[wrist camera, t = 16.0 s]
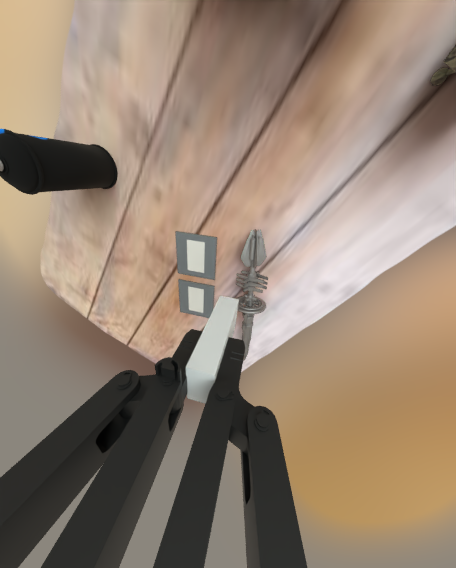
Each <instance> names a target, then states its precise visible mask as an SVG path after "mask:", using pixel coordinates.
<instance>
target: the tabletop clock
mask: <svg viewBox="0 0 456 568" xmlns="http://www.w3.org/2000/svg"><path fill="white" fill-rule="evenodd" d="M444 63H446V64H447V65H448V66H449V67H450V68H451V69H449V70H448V68H441V69H439V70H438V71H437V72H435V73H434V75H433V76H432V78H431V84H432V85H433V86H435V85H440V84H441V83H442V82H444V81H445V80H446V78H447V77H448V75H450V74H453V73H455V72H456V45H455V47H454V48H453V49H452V51H451V52H450V53H449V55H448V56H447V57H446V59H445V60H444Z"/></svg>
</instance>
